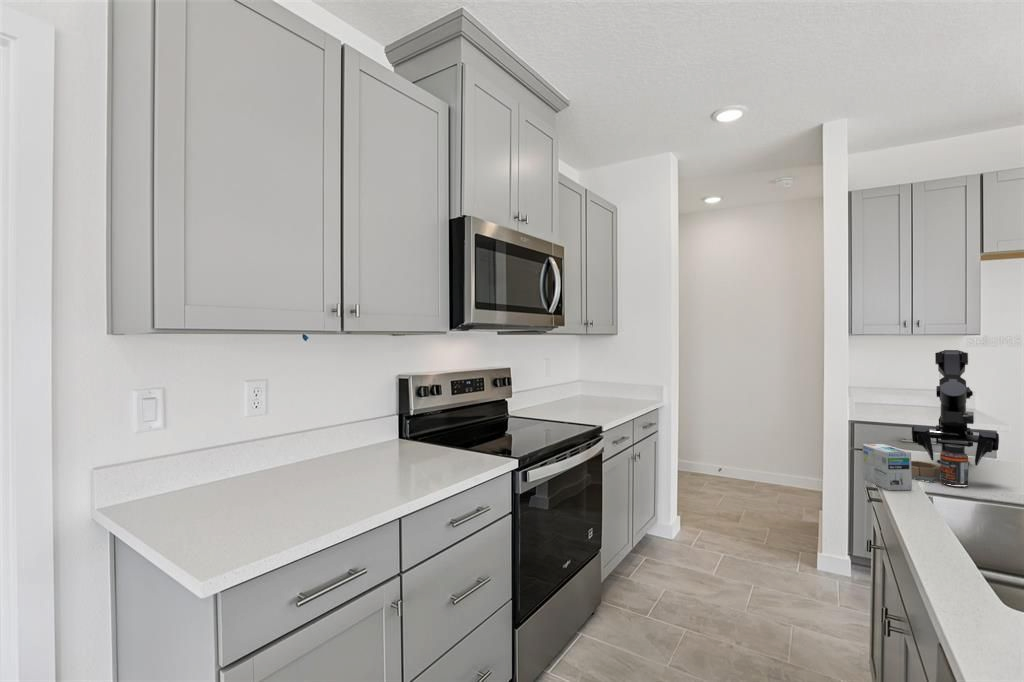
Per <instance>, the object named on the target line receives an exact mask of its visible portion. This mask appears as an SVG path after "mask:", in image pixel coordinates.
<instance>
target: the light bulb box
mask: <svg viewBox="0 0 1024 682" xmlns="http://www.w3.org/2000/svg"><path fill="white" fill-rule="evenodd" d="M911 461H912V452H911V451H908V450H904V449H902V448H899V447H894V446H891V445H889V444H888V445H887V444H885V443H871V444H870V443H862V464H863V467H862V470H863V474H862V475H863V479H862V480H863V481H866V482H868V483H871V484H872V485H876V486H878V487H880V488H882V489H884V490H887V491H911V490H910V489H912V490H913V482H912V481H913V479H912V471H911Z"/></svg>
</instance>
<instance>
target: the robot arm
mask: <svg viewBox="0 0 1024 682" xmlns="http://www.w3.org/2000/svg"><path fill="white" fill-rule="evenodd" d="M934 357H935V361H934V362H935V365H937V367H938V370H937V371H938V372H939V373H940V374H941V375H942V376H943V377H941V378H940V379H939V385H936V391H935V392H936V398H939V401H940V415H939V418H938V424H937V425H935V430H930V426H928V425H916V424H915V425H912V426H911V437H912V439H911V440H912V442H913V443H915V444H917V445H918V446H922V448H923V449H924V450H925V451H926V452H927V454H928V456H929V459H930V460H931V461H934V450H933V444H932V440H931V439H935V441H936V442H935V445H941V451H940V453H941V452H943V451H945V444H957V445H962V446H963V449H964V451H963V452H964V453H965V452H966V449H965V448H966V447H968V448H971V447H974V444H976V445H977V446H976V451H975V457H974V466H978V465H979V464H980V462H981V460H982V459H983V458H984V456H985V455H986V454H987V453H992V452H993V451H995V452H996V451H999V444H1000V439H999V438H1000V435H999V433H998V432H997V431H992V430H982V429H981V430H978V435H977V434H974V432H973V431H972V430H971V427H968V425H975V424H974V423H975V421H974V419H975V418H974V417H975V416H974V411H967V399H971V397H973V391H972V390H971V389H970V387H969V386H967V381H966V379H965V378H962V375H963V374H964V373H965V372H966V366H968V365H969V353H968V352H964V351H962V350H959V349H944V350H940V351H938V352H935V355H934ZM965 454H966V453H965ZM936 462H937V463H940V459H938V460H936ZM969 464H971V462H970V461H968V465H969Z"/></svg>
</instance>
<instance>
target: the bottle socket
mask: <svg viewBox="0 0 1024 682" xmlns="http://www.w3.org/2000/svg"><path fill="white" fill-rule="evenodd" d="M911 471H912V478H915V479H918V480H917V481H920V480H924V481H923V482H925V481H929V482H928V483H930V482H933V483H935V482H934V481H936V482H939V481H941V480H940V465H939V464H936V463H932V462H928V461H921V460H920V461H919V460H911ZM915 479H914V480H915ZM938 480H939V481H938Z"/></svg>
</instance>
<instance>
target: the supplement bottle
mask: <svg viewBox="0 0 1024 682" xmlns="http://www.w3.org/2000/svg"><path fill="white" fill-rule="evenodd" d="M963 451H964V449H963V446H962V445H957V444H945V451H943V452H941V451H940V453H939V455H940V457H939V458H940V459H939V460H940V462H939V463H940V465H939V466H940V480H939V481H940V484H942V483H945V484H951V485H968V486H969V464H968V462H969V456H968V454H966V453H964V452H963Z"/></svg>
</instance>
